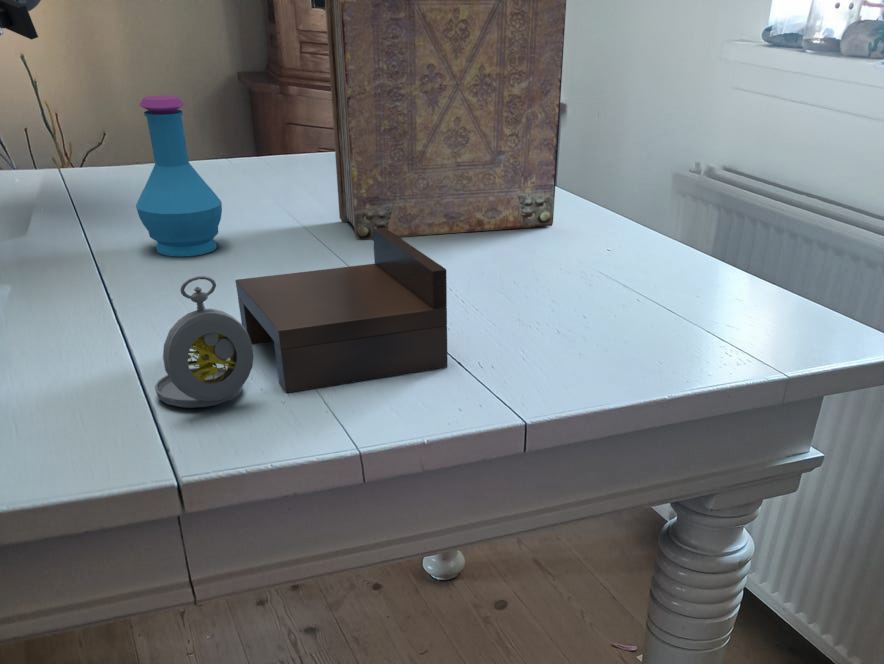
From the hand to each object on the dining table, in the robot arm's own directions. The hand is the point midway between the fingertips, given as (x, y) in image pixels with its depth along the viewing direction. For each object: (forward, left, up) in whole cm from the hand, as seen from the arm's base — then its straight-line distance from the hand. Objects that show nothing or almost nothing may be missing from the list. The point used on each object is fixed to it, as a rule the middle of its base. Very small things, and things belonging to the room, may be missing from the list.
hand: (90, 1), depth 93 cm
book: (+37, -5, -23) cm, 44 cm away
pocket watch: (-2, -48, -23) cm, 53 cm away
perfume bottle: (+5, -4, -23) cm, 24 cm away
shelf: (+11, -42, -23) cm, 49 cm away
